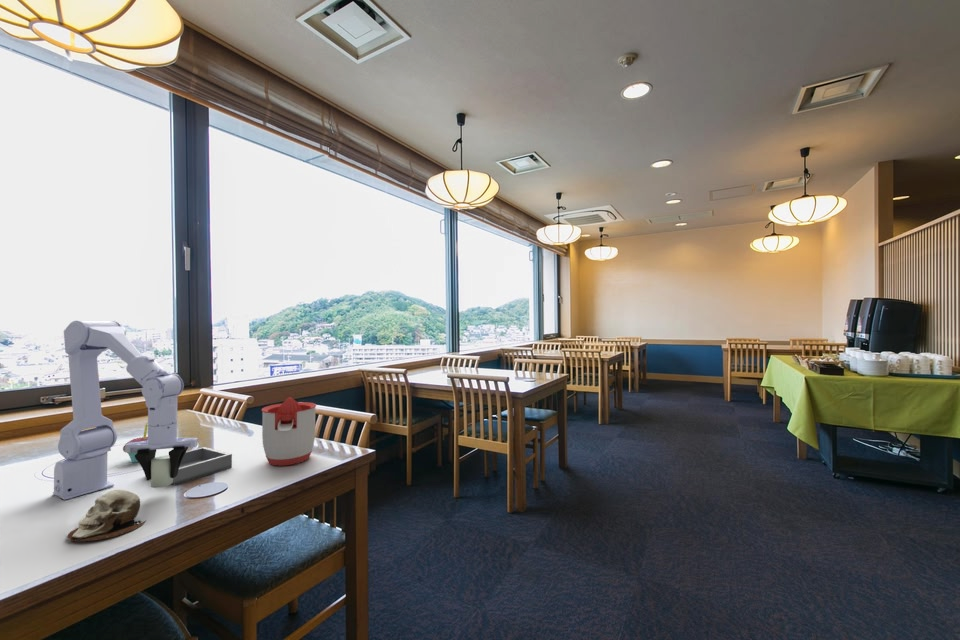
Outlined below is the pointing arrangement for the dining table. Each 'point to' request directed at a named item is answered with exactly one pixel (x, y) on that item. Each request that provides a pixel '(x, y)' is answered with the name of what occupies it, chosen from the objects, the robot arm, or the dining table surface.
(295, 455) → the citrus juicer
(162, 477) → the white pillar candle
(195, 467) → the bin
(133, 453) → the cupcake
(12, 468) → the dining table surface
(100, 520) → the skull
